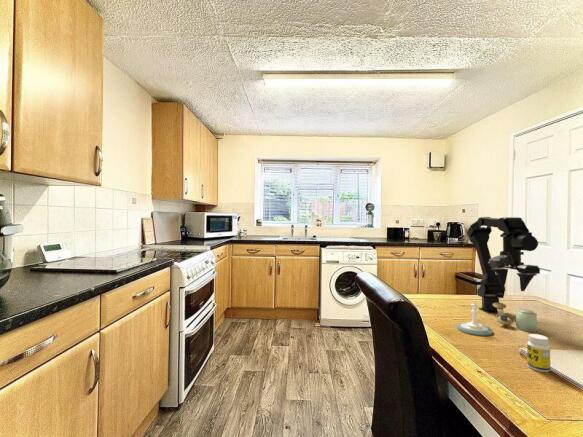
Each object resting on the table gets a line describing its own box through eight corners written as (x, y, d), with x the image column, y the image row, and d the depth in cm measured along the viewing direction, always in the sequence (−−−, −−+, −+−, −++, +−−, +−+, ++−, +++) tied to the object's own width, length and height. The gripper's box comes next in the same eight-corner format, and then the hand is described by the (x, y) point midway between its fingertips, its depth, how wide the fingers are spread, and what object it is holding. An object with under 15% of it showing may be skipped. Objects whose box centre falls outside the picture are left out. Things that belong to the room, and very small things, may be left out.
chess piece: (483, 326, 111) (483, 298, 111) (481, 330, 107) (481, 301, 107) (467, 323, 114) (467, 296, 114) (465, 327, 110) (465, 299, 110)
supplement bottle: (522, 364, 83) (522, 333, 83) (538, 363, 84) (538, 332, 84) (538, 373, 78) (538, 340, 79) (555, 372, 79) (555, 339, 79)
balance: (492, 314, 129) (492, 301, 129) (505, 316, 127) (505, 303, 127) (497, 326, 114) (497, 311, 114) (512, 328, 112) (512, 313, 112)
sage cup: (512, 326, 114) (511, 308, 114) (526, 325, 115) (526, 308, 115) (526, 332, 108) (525, 313, 109) (541, 331, 109) (541, 312, 109)
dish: (450, 325, 115) (450, 322, 115) (477, 324, 116) (477, 321, 116) (471, 336, 104) (471, 332, 104) (500, 335, 105) (500, 331, 106)
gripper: (476, 247, 129) (476, 284, 128) (513, 251, 110) (514, 294, 110) (500, 247, 130) (500, 284, 130) (540, 250, 112) (541, 293, 111)
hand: (512, 288), depth 120 cm, fingers open, 9 cm apart
